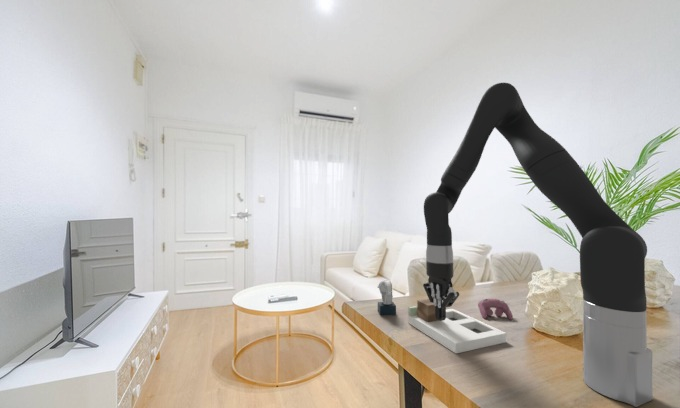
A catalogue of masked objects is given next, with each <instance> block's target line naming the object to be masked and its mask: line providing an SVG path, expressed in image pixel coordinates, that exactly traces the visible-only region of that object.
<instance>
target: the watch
mask: <svg viewBox="0 0 680 408" xmlns="http://www.w3.org/2000/svg"><path fill="white" fill-rule="evenodd" d="M377 288H378V289H379V292H380V294H381V299H382V300H381V301H377V312H378V314H379V316H397V305H396V304H395V303H394V301H393V296H394V295H393V283H392V281H391V280H382V281H380V282H379V283H378V284H377Z"/></svg>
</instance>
